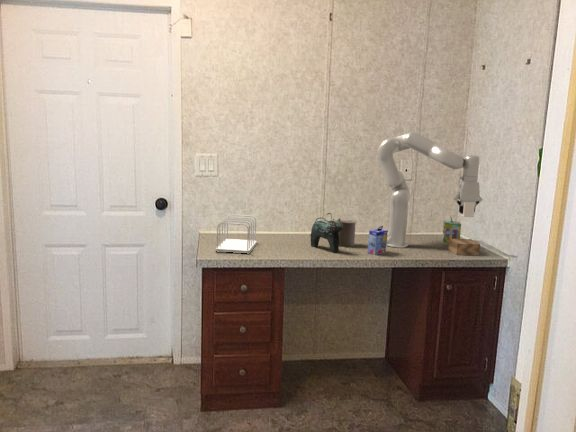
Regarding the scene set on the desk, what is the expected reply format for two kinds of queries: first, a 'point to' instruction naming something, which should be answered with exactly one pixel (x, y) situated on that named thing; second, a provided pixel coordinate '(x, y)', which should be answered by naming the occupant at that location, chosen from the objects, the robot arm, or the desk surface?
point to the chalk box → (451, 230)
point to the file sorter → (236, 244)
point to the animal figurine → (327, 233)
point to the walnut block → (464, 247)
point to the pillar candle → (347, 233)
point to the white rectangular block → (468, 209)
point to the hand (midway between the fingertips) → (466, 212)
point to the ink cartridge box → (377, 241)
